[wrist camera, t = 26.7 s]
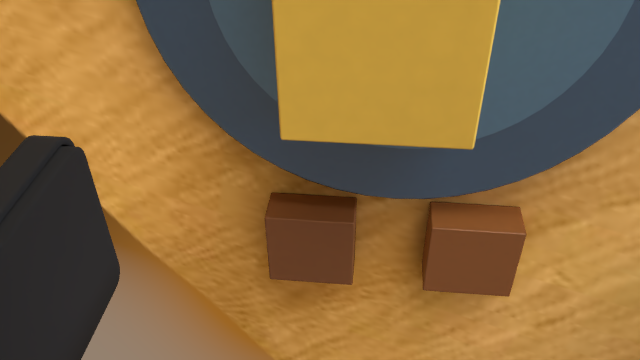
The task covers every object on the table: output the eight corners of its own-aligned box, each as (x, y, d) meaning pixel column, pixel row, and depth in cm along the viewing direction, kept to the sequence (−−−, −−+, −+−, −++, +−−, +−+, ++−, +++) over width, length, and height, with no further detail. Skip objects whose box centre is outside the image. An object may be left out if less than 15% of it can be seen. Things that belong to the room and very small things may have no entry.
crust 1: (271, 191, 31) (264, 217, 29) (356, 196, 30) (354, 223, 29) (275, 252, 34) (269, 279, 32) (354, 258, 33) (352, 285, 32)
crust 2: (430, 201, 30) (431, 228, 28) (520, 206, 30) (526, 234, 28) (421, 262, 33) (422, 290, 31) (504, 268, 32) (509, 297, 31)
